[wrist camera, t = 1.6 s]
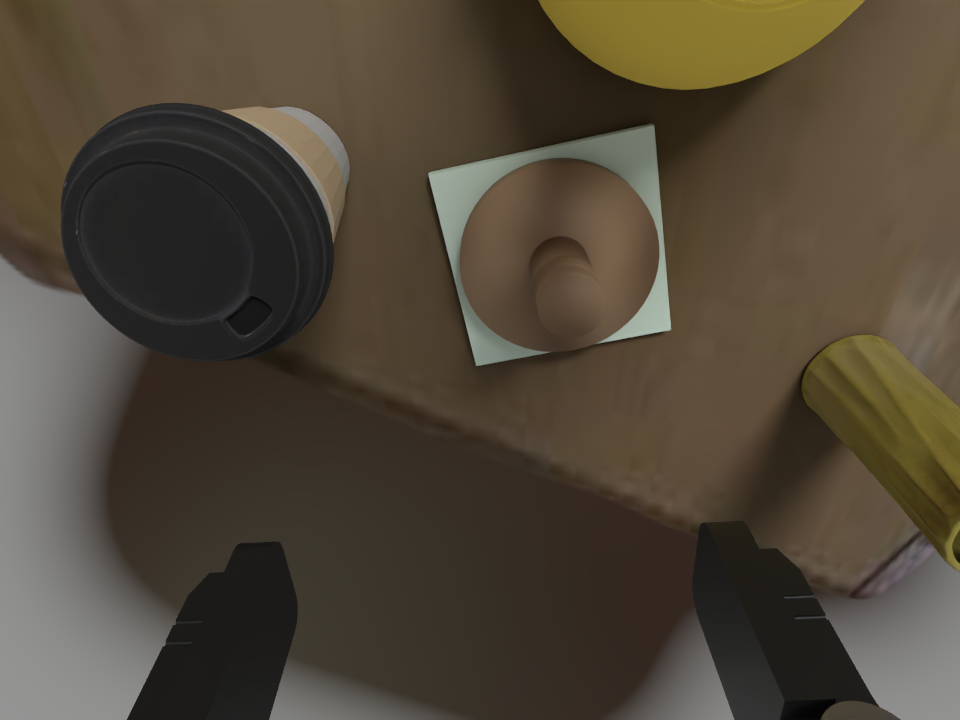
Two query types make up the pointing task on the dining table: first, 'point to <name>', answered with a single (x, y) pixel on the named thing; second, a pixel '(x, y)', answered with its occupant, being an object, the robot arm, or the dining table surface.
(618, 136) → the mat
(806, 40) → the teapot
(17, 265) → the dining table surface
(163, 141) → the coffee cup
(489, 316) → the lid
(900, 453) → the vase
